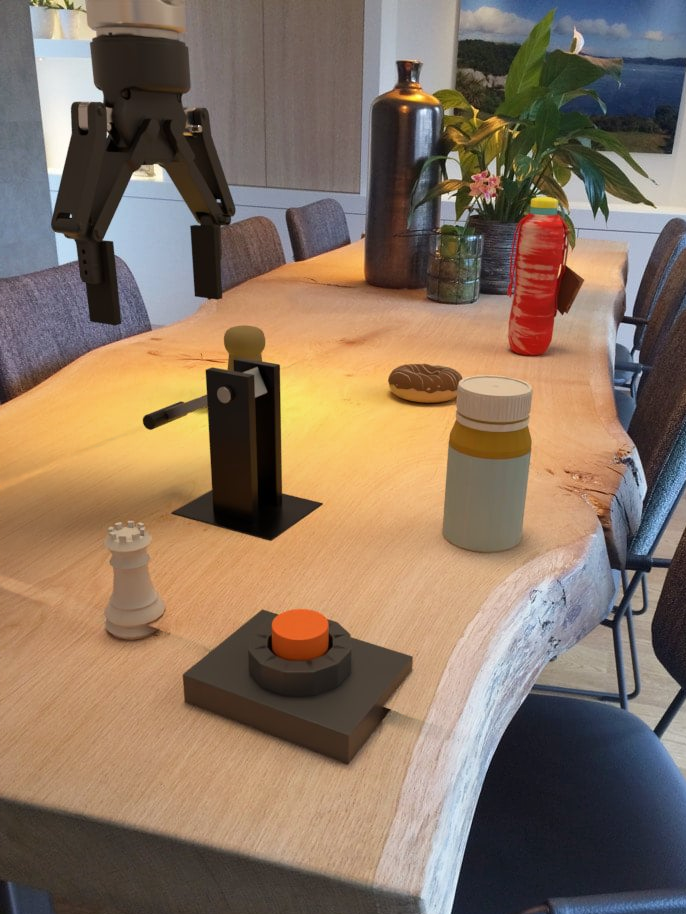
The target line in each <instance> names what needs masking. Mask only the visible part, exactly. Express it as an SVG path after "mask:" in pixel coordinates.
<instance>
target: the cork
mask: <svg viewBox="0 0 686 914" xmlns="http://www.w3.org/2000/svg"><path fill="white" fill-rule="evenodd" d="M223 345H224V348H225V351H226V352H227V353H228V357H227V359H228V360H227V369H226V370H230V371H234V366H233V360H234V359H237V358H245V359H250V360H256V361H262V362H263V356H262V353H263V351H264V350H265V349H266V348H265V347H266V336H265V333H264V332H263V330H262V328H259V327H257V326H253V325H247V324H245V325H235V326H231V327H229V328H228V329H226V331H225V332H224V335H223Z"/></svg>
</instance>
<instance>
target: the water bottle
mask: <svg viewBox="0 0 686 914" xmlns="http://www.w3.org/2000/svg"><path fill="white" fill-rule="evenodd" d="M558 208H559V199H558V198H554V197H550V196H536V197H532V198H531V199H530V210H529V212H528V213H527V214H526V216H523V217H522V218H521V219H520V221H519V222H518V224H517V226H516V228H515V231H514V235H513V240H512V246H511V253H510V263H509V274H508V275H509V278H510V282H509V284H508V285H507V286H508V287H507V291H506V293H507V294H506V296H507V297H508V298H512V302H511V308H510V313H509V320H508V329H507V330H508V331H507V341H508V344H509V347H510V350H511V351H512V352H513V353H515V354H519V355H523V356H541V355H543V354H545V353H546V352H547V351H548V349H549V347H550V345H551V342H552V339H553V332H554V327H555V317H557V315H558V312H559V313H560V315H561V316H564V314H565V313H566V314H567V315H568V314H569V312H570V309H571V308H572V306H573V304H574V302H575V300H576V298H577V296H578V294H579V292H580V290H581V288H582V286H583V284H584V283H585V278H583V277H581V275H579V274H577V273H576V272H575V271H574V270H573V269H571V268H570V267H569V266H567V262H568V261H567V260H568V255H569V254H568V253H569V246H570V234H571V232H572V230H571V228H569V227H568V225H567V224H566V222H565V220H564V219H563V218H562V217H561V216H560V214H559V213H558ZM515 244H516V245H515ZM514 251H515V252H514ZM513 257H514V259H513ZM513 286H514V287H513ZM512 290H513V291H512ZM512 292H513V293H512ZM512 294H513V295H512Z"/></svg>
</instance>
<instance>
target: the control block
mask: <svg viewBox="0 0 686 914" xmlns="http://www.w3.org/2000/svg"><path fill="white" fill-rule="evenodd" d="M279 614H280V613H276V612H272V611H269V610H265V609H261V610H259V611H258V612H257V613H256V614H254V615H253V616H252V617H251V618H250V619H249V620H247V621H246V622H245V623H243V624H242V625H241V626H240V627H239V628H237V629H236V630H235V631H234V632H233V633H231V634H230V635H229V636H228V637H226V638H225V639H224V640H223V641H222V642H221V643H219V644H218V645H216V647H214V648H213V649H212V650H211V651H209V652H208V653H207V654H206V655H205V656H203V657H202V658H201V659H200V660H199V661H197V662H196V663H195V664H193V665H192V666H191V667H190V668H188V669H187V670H186V671H185V672H184V673H182V685H183V699H184V703H186V704H190V705H192V706H194V707H197V708H199V709H202V710H205V711H206V712H210V713H213V714H216V715H217V716H220V717H223V718H226V719H228V720H230V721H233V722H236V723H239V724H241V725H243V726H246V727H250V728H252V729H254V730H257V731H260V732H262V733H265V734H267V735H270V736H273V737H274V738H278V739H280V740H283V741H285V742H288V743H291V744H293V745H296V746H298V747H301V748H304V749H306V750H308V751H312V752H314V753H317V754H320V755H322V756H324V757H327V758H330V759H332V760H335V761H337V762H339V763H340V762H341V763H343V764H346V765H349V764H350V763H351V762H352V760H353V759H354V757H356V755H357V754H358V752H359V751H360V750H361V749H362V747H363V746H364V745H365V743H366V742H367V741H368V739H370V737H371V736H372V735H373V733H374V732H375V731H376V730H377V728H378V727H379V726H380V724H381V723H383V720H384V719H385V718H386V716H388V714H389V713H390V712H391V710H392V709H391V708H389V707H386V706H385V705H386V704H387V702H388V701H389V700H390V698H391V697H392V696H393V694H394V693H395V692H396V691H397V689H398V688H399V687H400V686H401V684H402V683H403V682H404V681H405V680H406V678H407V677H408V675H409V674H411V672H412V671H413V664H414V663H413V661H414V657H413V656H412V655H410V654H406V653H404V652H400V651H397V650H394V649H390V648H387V647H383V646H380V645H377V644H374V643H371V642H368V641H364V640H361V639H358V638H355V637H352V636H351V633H350V632H349V631H348V630H346V628H345V627H343V626H342V625H341V624H340V623H339V622H338V621H335V620H332V619H329V618H327V620H328V623H329V641H328V650H327V652H326V653H325V654H324V655H323V656H321V657H318V658H315V659H312V660H309V661H288V660H285V659H282V658H280V657H277V656H276V655H275V654H274V652H273V650H272V622H273V620H274V618H275V617H276V616H278V615H279Z"/></svg>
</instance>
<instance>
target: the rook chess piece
mask: <svg viewBox="0 0 686 914" xmlns="http://www.w3.org/2000/svg"><path fill="white" fill-rule="evenodd" d="M107 533H108V535H107V536H106V538H105V540H103V541H104V542H103V545H104V547H105V548H106V549H107V550H108V552H110V553H111V557H110V559H109V561H108V562H109V565H110V566H111V567H112V571H113V582H112V592H111V594H110V596H109V598H108V602H107V603H106V605H105V607H104V611H103V612H104V616H105V621H104V626H105V630H106V631H108V632H109V633H111V634H112V635H113V636H114V637H115V638H119V639H123V640H132V641H133V640H134V641H135V640H140V639H145V638H148V637H150V636H151V637H152V636H153V635H155V634H157V633H158V632H159V631H160V630H161V629H159V628H157V627H154V626H152V625H149V624H151V623H153V622H155V621H156V620H158V619H159V618H160V617H161V616H162V615H163V614H164V612H165V610H166V605H165V602H164V600H163V597H162V596H161V595H159V593H158V590H157V589H156V588H154V586H153V582H152V578H151V574H150V570H149V569H150V567H149V563H150V561H151V556H150V554H149V553H148V552H147V549H148V548H149V546H150V544H151V543H152V541H153V537H152V535H151V534H150V533H149V532H148V531H147V528H146V526H145V524H144V523H143V522H141V521H140V522H138V523H137V524H136V521H135V520H127V526H123V523H122V521H119V522H116V523H114V526H109V527H108V529H107Z"/></svg>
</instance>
